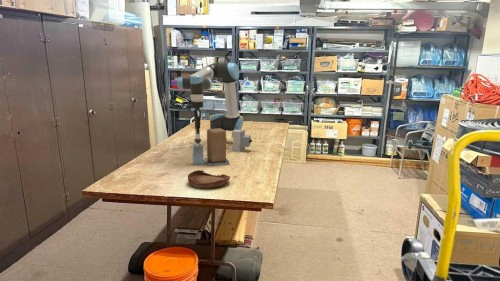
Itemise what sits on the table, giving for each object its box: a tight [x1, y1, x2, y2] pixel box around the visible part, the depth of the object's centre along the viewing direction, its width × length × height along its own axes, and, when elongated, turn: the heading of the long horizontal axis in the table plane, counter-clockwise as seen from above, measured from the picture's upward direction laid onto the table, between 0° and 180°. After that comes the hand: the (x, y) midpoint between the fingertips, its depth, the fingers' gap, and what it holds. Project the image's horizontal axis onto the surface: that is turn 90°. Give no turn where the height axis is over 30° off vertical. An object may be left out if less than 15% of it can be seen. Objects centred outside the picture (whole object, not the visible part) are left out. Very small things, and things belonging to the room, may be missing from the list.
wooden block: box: [206, 128, 227, 162], centre depth 218 cm, size 10×10×20 cm
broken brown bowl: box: [187, 169, 231, 189], centre depth 181 cm, size 22×20×5 cm
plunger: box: [194, 138, 202, 146], centre depth 214 cm, size 4×4×10 cm
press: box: [192, 143, 230, 167], centre depth 218 cm, size 14×22×12 cm, turn 106°
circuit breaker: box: [231, 129, 253, 153], centre depth 249 cm, size 8×14×15 cm, turn 78°
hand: (197, 138), depth 213 cm, fingers closed
